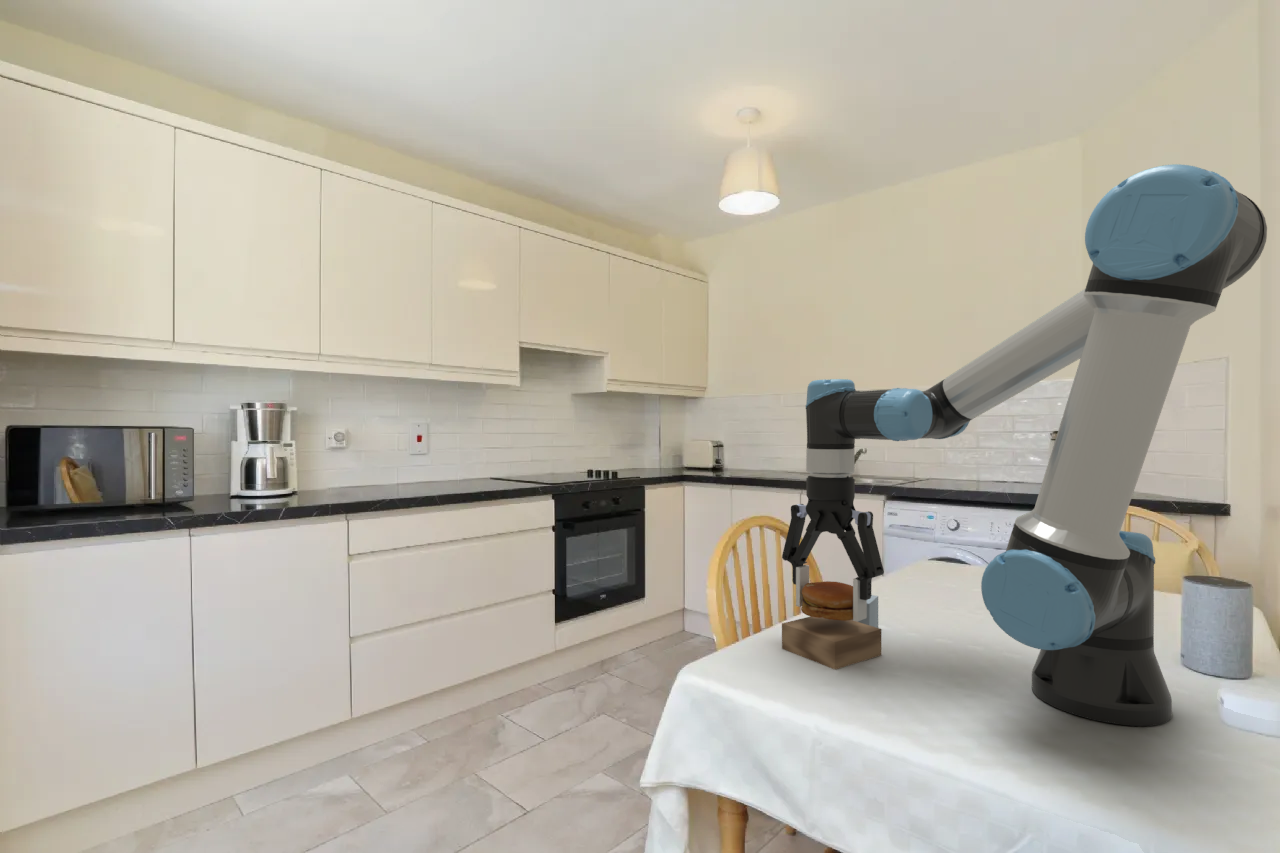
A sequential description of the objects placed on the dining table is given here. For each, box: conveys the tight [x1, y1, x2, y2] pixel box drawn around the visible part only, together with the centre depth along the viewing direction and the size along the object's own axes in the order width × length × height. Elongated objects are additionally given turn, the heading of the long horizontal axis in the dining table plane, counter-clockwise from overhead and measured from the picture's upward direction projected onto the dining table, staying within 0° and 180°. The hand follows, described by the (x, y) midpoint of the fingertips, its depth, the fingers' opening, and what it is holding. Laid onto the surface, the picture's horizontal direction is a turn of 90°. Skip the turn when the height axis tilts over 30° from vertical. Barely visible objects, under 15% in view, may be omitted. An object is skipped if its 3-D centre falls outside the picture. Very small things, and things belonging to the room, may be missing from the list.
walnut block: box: [781, 616, 883, 671], centre depth 105 cm, size 11×11×4 cm
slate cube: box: [858, 594, 879, 628], centre depth 115 cm, size 6×6×6 cm
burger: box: [800, 580, 853, 621], centre depth 105 cm, size 10×9×5 cm
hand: (830, 611), depth 105 cm, fingers closed on burger, 10 cm apart
